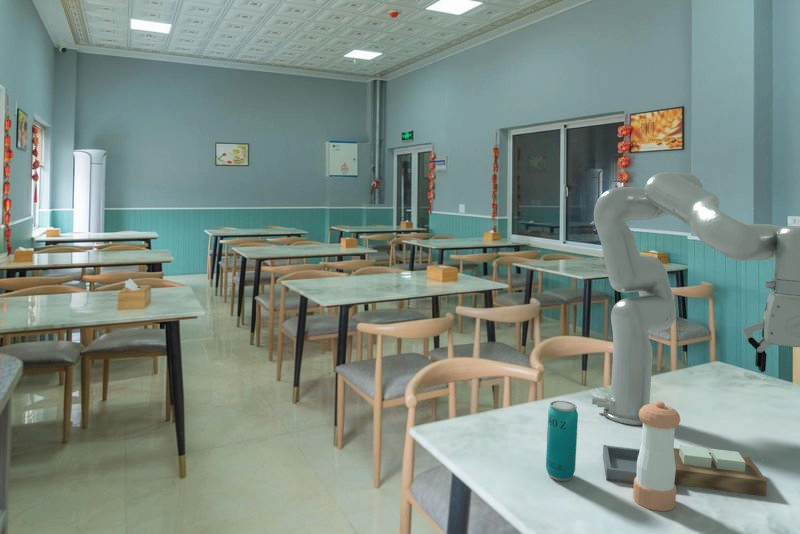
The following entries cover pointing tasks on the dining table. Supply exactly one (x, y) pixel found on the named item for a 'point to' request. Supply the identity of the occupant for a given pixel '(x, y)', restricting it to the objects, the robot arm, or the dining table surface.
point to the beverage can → (561, 440)
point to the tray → (620, 463)
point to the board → (721, 477)
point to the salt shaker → (656, 458)
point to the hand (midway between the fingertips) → (789, 372)
